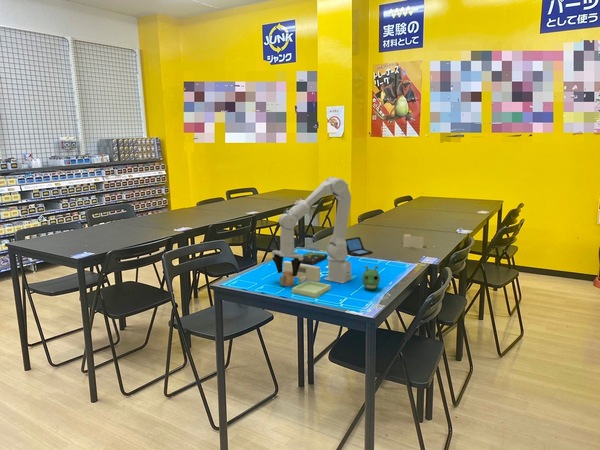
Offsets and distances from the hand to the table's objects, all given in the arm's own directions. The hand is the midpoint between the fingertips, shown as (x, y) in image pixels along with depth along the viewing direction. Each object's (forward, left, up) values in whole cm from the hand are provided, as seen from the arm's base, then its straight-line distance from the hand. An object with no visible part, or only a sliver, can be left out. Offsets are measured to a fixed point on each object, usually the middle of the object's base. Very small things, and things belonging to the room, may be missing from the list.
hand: (287, 274), depth 188 cm
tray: (-13, +2, -4) cm, 14 cm away
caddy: (0, +1, -4) cm, 5 cm away
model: (-22, -91, -5) cm, 94 cm away
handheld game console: (-2, -62, -5) cm, 63 cm away
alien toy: (-32, -13, -5) cm, 35 cm away
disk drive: (+11, -37, -5) cm, 39 cm away
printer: (0, -9, -4) cm, 10 cm away
